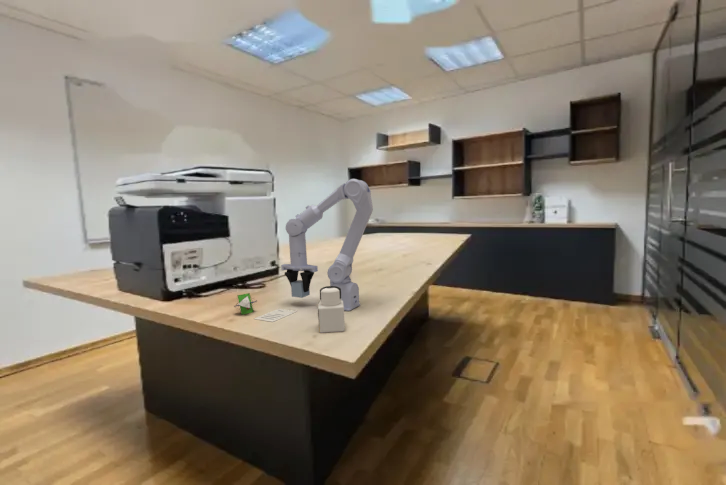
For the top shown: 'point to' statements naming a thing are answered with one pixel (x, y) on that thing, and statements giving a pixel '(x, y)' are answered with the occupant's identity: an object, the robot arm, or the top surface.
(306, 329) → the top surface
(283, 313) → the letter
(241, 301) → the geometric puzzle
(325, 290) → the medicine bottle
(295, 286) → the slate cube
